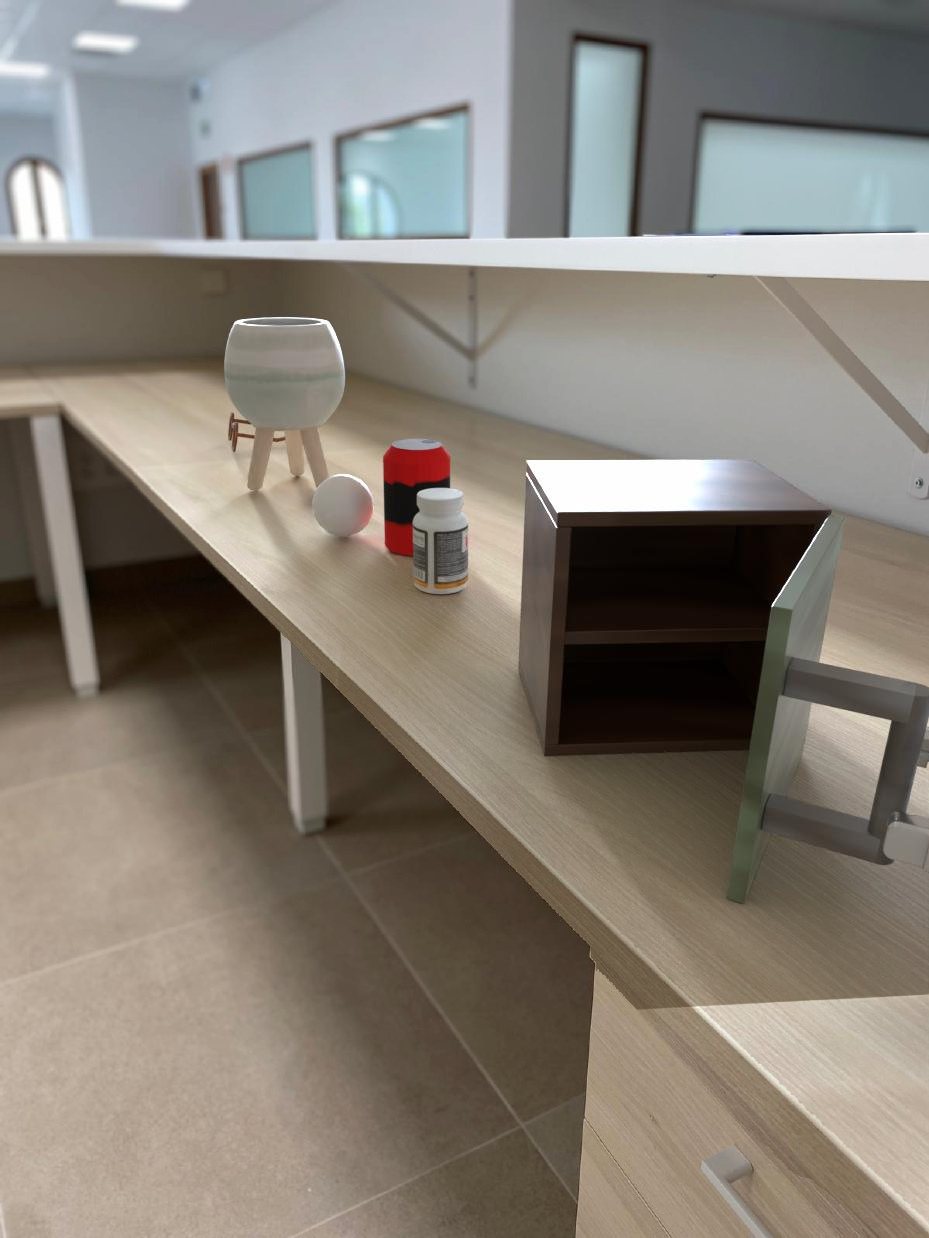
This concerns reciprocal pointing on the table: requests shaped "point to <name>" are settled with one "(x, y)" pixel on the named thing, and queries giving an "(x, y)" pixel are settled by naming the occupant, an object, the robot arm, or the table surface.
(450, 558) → the pill bottle
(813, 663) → the cupboard door
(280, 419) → the planter
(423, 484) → the soda can
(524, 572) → the cupboard
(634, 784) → the table surface
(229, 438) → the glasses
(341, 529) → the white ovoid
